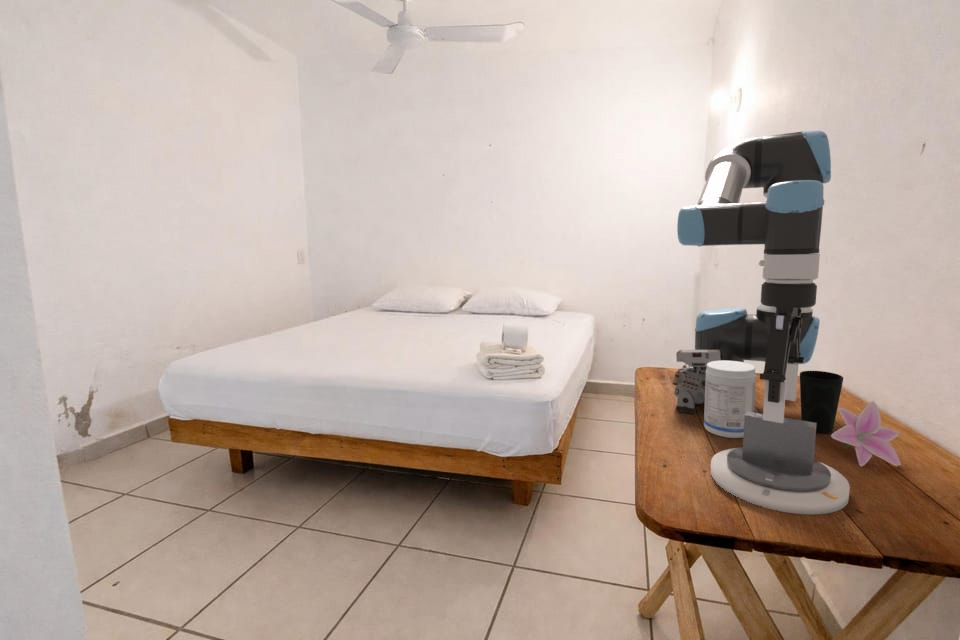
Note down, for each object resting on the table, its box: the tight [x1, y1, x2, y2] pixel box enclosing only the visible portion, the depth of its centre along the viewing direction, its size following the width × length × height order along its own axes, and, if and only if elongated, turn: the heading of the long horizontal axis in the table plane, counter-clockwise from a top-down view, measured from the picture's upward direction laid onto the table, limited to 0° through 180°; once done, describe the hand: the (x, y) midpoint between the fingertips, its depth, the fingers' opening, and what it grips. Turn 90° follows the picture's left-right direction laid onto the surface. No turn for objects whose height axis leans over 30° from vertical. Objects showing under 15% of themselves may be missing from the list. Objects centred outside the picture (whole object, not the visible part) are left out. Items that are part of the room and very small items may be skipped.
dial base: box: [710, 447, 851, 516], centre depth 83 cm, size 20×20×2 cm
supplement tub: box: [703, 360, 757, 439], centre depth 105 cm, size 10×10×15 cm
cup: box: [799, 370, 844, 435], centre depth 105 cm, size 8×8×12 cm
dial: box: [727, 411, 831, 492], centre depth 82 cm, size 15×15×9 cm
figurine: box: [672, 349, 722, 415], centre depth 119 cm, size 9×12×15 cm
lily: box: [830, 401, 902, 467], centre depth 92 cm, size 12×12×10 cm
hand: (780, 409), depth 81 cm, fingers open, 13 cm apart
